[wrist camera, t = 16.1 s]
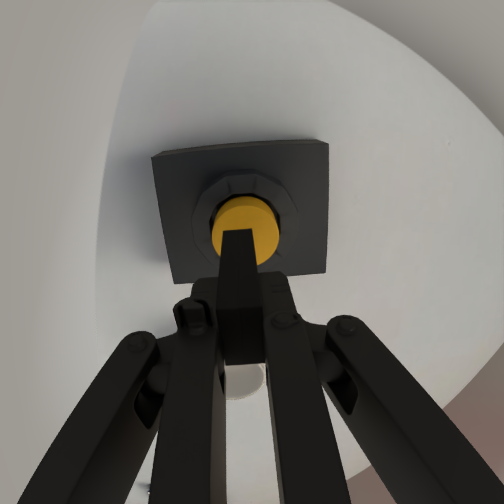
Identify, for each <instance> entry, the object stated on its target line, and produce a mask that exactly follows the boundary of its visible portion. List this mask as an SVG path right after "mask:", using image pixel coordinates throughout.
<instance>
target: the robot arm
mask: <svg viewBox="0 0 504 504" xmlns="http://www.w3.org/2000/svg"><path fill="white" fill-rule="evenodd" d="M173 313H174V317H175V321H176V324H177V328H178V330H177V332H176V333H174V334H172V335H169V336H166V337H163V338H159V339H156V338H155V336H154V335H153V334H152V333H149V332H147V331H137V332H133V333H131V334H129V335H127V336H126V337H125V338H124V339H123V340H121V342H120V343H119V345H118V346H117V347H116V349H115V350H114V352H113V353H112V354H111V356H110V357H109V359H108V360H107V361H106V363H105V364H104V366H103V367H102V369H101V370H100V371H99V373H98V374H97V376H96V377H95V379H94V380H93V382H92V383H91V385H90V386H89V388H88V389H87V390H86V392H85V393H84V395H83V396H82V398H81V399H80V401H79V402H78V404H77V405H76V407H75V408H74V410H73V411H72V413H71V414H70V416H69V418H68V419H67V421H66V422H65V424H64V425H63V427H62V428H61V430H60V432H59V433H58V435H57V436H56V438H55V439H54V441H53V443H52V444H51V446H50V447H49V449H48V451H47V453H46V454H45V456H44V457H43V459H42V461H41V462H40V464H39V466H38V467H37V469H36V471H35V472H34V474H33V476H32V478H31V479H30V481H29V483H28V485H27V486H26V488H25V490H24V492H23V494H22V495H21V497H20V499H19V501H18V503H17V504H124V503H125V501H126V499H127V497H128V494H129V492H130V490H131V488H132V486H133V483H134V481H135V479H136V477H137V474H138V472H139V470H140V468H141V466H142V463H143V461H144V459H145V457H146V455H147V452H148V450H149V448H150V446H151V444H152V442H153V439H154V437H155V435H156V433H157V431H158V435H157V442H156V448H155V455H154V462H153V469H152V476H151V484H150V492H149V501H148V504H227V495H226V374H225V369H224V363H225V365H226V366H233V365H248V364H261V363H265V366H266V385H267V388H268V397H269V407H270V416H271V425H272V434H273V443H274V452H275V462H276V471H277V480H278V489H279V498H280V504H351V500H350V496H349V491H348V488H347V483H346V479H345V475H344V470H343V466H342V462H341V458H340V454H339V450H338V446H337V442H336V438H335V434H334V430H333V427H332V423H331V419H330V415H329V411H328V407H327V404H326V400H325V396H324V393H323V389H322V386H323V388H324V390H325V391H326V393H327V394H328V396H329V398H330V399H331V401H332V403H333V404H334V406H335V407H336V409H337V411H338V412H339V414H340V415H341V417H342V418H343V420H344V422H345V423H346V425H347V426H348V428H349V430H350V431H351V433H352V434H353V436H354V438H355V439H356V441H357V442H358V444H359V445H360V447H361V449H362V450H363V452H364V453H365V455H366V456H367V458H368V460H369V461H370V463H371V464H372V466H373V467H374V469H375V471H376V472H377V473H378V475H379V477H380V478H381V480H382V482H383V483H384V484H385V486H386V488H387V489H388V491H389V492H390V494H391V496H392V497H393V499H394V500H395V502H396V503H397V504H504V485H503V483H502V482H501V481H500V480H499V478H498V477H497V476H496V475H495V473H494V472H493V471H492V469H491V468H490V467H489V466H488V465H487V463H486V462H485V461H484V459H483V458H482V457H481V456H480V455H479V453H478V452H477V451H476V450H475V448H473V446H472V445H471V444H470V442H469V441H468V440H467V439H466V438H465V436H464V435H463V434H462V433H461V432H460V431H459V429H458V428H457V427H456V426H455V424H454V423H453V422H452V421H451V420H450V419H449V417H448V416H447V415H446V414H445V413H444V411H443V410H442V409H441V408H440V407H439V406H438V405H437V403H436V402H435V401H434V400H433V399H432V398H431V396H430V395H429V394H428V393H427V392H426V391H425V390H424V388H423V387H422V386H421V385H420V384H419V383H418V382H417V381H416V379H415V378H414V377H413V376H412V375H411V374H410V373H409V372H408V370H407V369H406V368H405V367H404V366H403V365H402V364H401V363H400V362H399V360H398V359H397V358H396V357H395V356H394V355H393V354H392V353H391V352H390V350H389V349H388V348H387V347H386V346H385V345H384V344H383V343H382V342H381V341H380V340H379V338H378V337H377V336H376V335H375V334H374V333H373V332H372V331H371V330H370V329H369V328H368V327H367V325H366V324H365V323H364V322H363V321H361V320H360V319H359V318H357V317H354V316H350V315H340V316H336V317H334V318H332V319H330V321H329V322H328V323H327V325H318V324H312V323H309V322H306V321H305V320H303V319H302V317H301V315H300V314H298V313H297V310H296V307H295V303H294V300H293V296H292V293H291V289H290V286H289V283H288V279H287V276H285V275H284V274H283V273H282V272H281V271H273V272H261V273H258V268H257V261H256V253H255V246H254V239H253V231H252V228H249V229H237V230H225V231H223V234H222V244H221V254H220V264H219V275H218V277H208V278H199V279H198V280H197V281H196V282H195V283H194V284H193V286H192V291H191V296H190V297H188V298H185V299H183V300H180V301H179V302H178V303H177V304H175V306H174V308H173ZM158 428H159V429H158Z"/></svg>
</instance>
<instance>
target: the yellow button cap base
mask: <svg viewBox="0 0 504 504" xmlns="http://www.w3.org/2000/svg"><path fill="white" fill-rule="evenodd" d="M151 160H152V167H153V174H154V181H155V187H156V194H157V200H158V206H159V211H160V217H161V223H162V228H163V233H164V239H165V244H166V249H167V254H168V258H169V263H170V268H171V272H172V277H173V281H174V284H185V283H195V282H196V281H197V280H198V279H199V278H208V277H218V275H219V264H220V256H219V255H218V253H217V252H216V250H215V248H214V246H213V242H212V230H213V226H214V222H215V217H216V215H217V212H218V211H219V209H220V208H221V207H222V206H223V205H224V204H225V203H226V202H227V201H229V200H231V199H233V198H236V197H241V196H250V197H254V198H257V199H260V200H261V201H263V202H264V203H266V204H267V205H268V206H269V207H270V209H271V210H272V212H273V214H274V217H275V220H276V223H277V226H278V230H279V242H278V245H277V248H276V250H275V251H274V253H273V254H272V255H271V257H270V258H268V259H267V260H266V261H265V262H263V263H261V264H259V265H257V268H258V273H261V272H273V271H281V272H282V273H283V274H284V275H285V276H297V275H308V274H320V273H326V257H327V236H328V205H329V144H328V143H325V142H323V141H320V140H317V139H314V140H276V141H257V142H242V143H230V144H219V145H209V146H200V147H191V148H183V149H176V150H169V151H163V152H161V153H159V154H157V155H155V156H153V157H151Z"/></svg>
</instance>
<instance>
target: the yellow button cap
mask: <svg viewBox="0 0 504 504" xmlns="http://www.w3.org/2000/svg"><path fill="white" fill-rule="evenodd" d="M249 228H252V231H253V239H254V246H255V253H256V261H257V265H259V264H261V263H263V262H265V261H266V260H267V259H268V258H270V257H271V255H272V254H273V253H274V251H275V250H276V248H277V245H278V242H279V230H278V226H277V223H276V220H275V217H274V214H273V212H272V210H271V209H270V207H269V206H268V205H267V204H266V203H264V202H263V201H261V200H260V199H257V198H254V197H250V196H241V197H236V198H233V199H231V200H229V201H227V202H226V203H225V204H224V205H223V206H222V207H221V208H220V209H219V211H218V212H217V215H216V217H215V222H214V226H213V230H212V242H213V246H214V248H215V250H216V252H217V253H218V255H219V256H220V254H221V244H222V234H223V231H225V230H237V229H249Z"/></svg>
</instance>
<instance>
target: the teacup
mask: <svg viewBox="0 0 504 504" xmlns="http://www.w3.org/2000/svg"><path fill="white" fill-rule="evenodd" d="M264 366H265V363H261V364H248V365H233V366H226V365H225V363H224V369H225V374H226V400H236V399H242V398H245V397H248V396H250V395H252V394H254V393H256V392H257V391H258V390H259V389H260V388H261V387H262V386H263V384H264V382H265V371H264Z"/></svg>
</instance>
